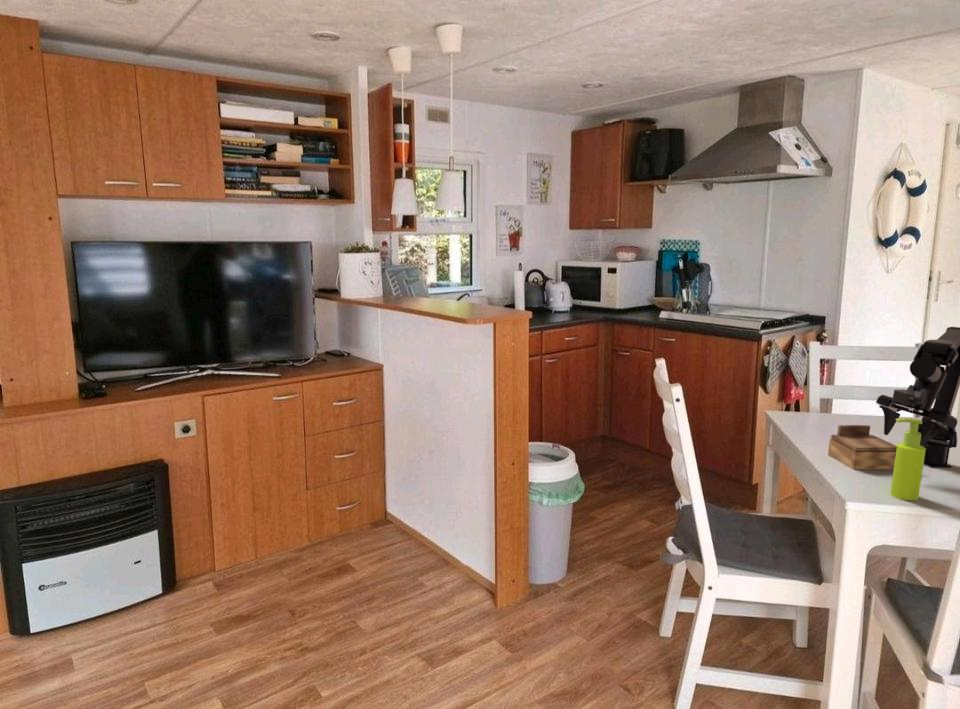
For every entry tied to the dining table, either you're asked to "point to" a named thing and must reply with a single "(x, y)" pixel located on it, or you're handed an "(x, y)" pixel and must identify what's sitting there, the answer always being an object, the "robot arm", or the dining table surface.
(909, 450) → the soap dispenser
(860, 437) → the lid
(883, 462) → the wooden box
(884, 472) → the dining table surface
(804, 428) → the dining table surface
